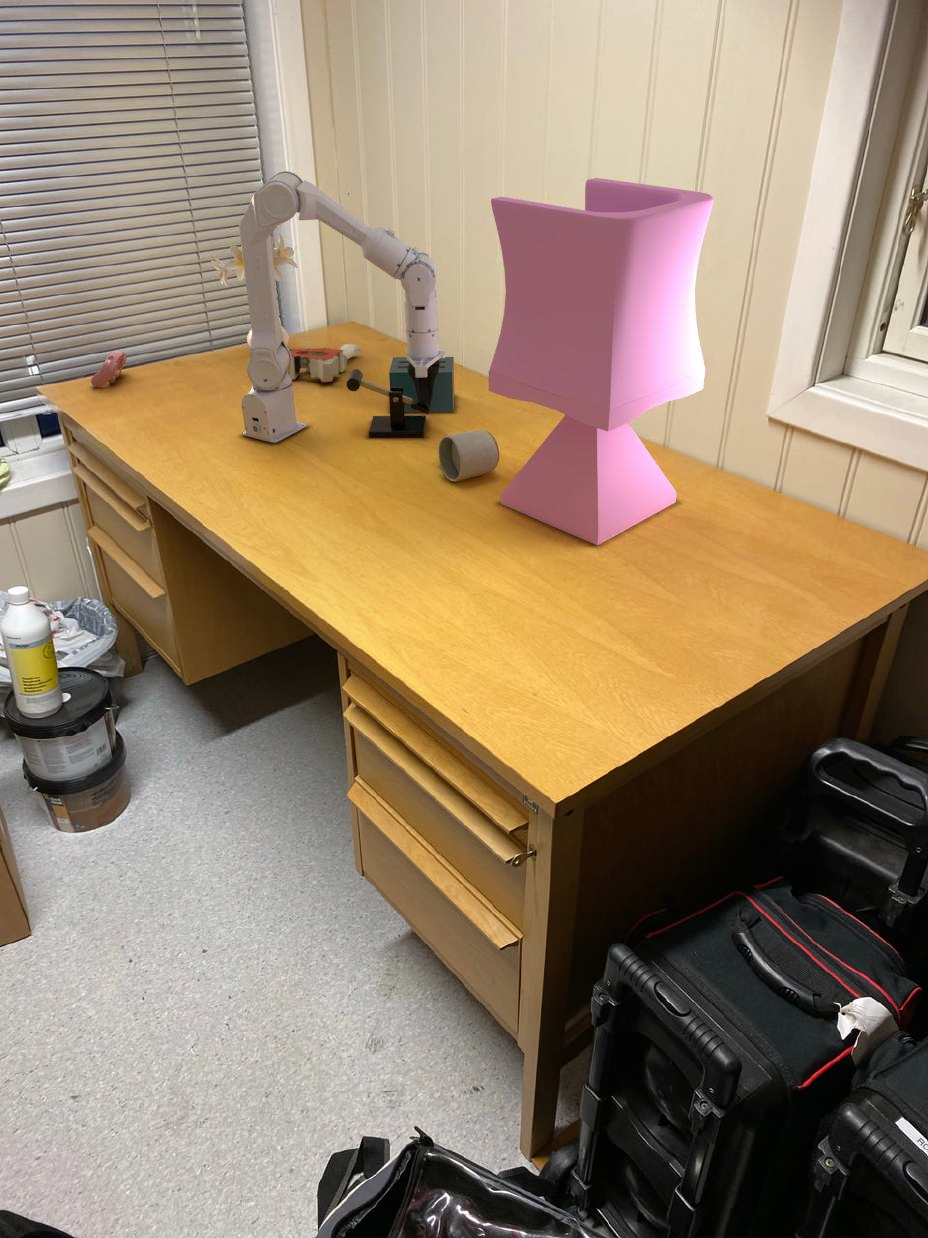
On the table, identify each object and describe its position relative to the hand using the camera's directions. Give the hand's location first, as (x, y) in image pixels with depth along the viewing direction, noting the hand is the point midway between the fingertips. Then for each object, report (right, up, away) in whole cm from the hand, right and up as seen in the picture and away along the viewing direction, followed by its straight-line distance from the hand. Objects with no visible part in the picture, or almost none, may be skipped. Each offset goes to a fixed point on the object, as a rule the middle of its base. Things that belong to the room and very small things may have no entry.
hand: (425, 402), depth 174 cm
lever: (-7, +1, 0) cm, 7 cm away
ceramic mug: (+7, -15, -13) cm, 21 cm away
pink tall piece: (+27, -21, -23) cm, 41 cm away
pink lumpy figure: (-68, +11, +28) cm, 74 cm away
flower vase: (-37, +20, +41) cm, 59 cm away
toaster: (-1, +3, +14) cm, 14 cm away
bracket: (-5, -4, +3) cm, 7 cm away
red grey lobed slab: (-22, +13, +30) cm, 40 cm away
